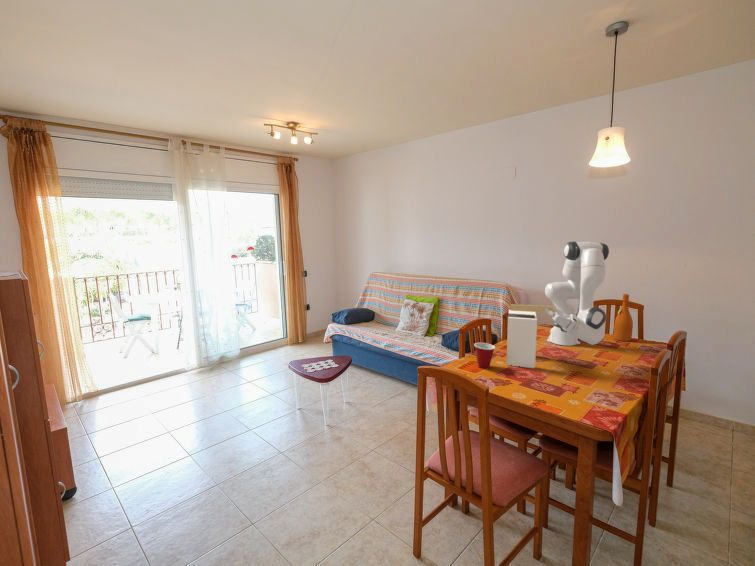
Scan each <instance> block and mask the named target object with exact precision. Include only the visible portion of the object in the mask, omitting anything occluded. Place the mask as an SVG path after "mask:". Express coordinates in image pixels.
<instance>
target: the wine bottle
mask: <svg viewBox="0 0 755 566" xmlns="http://www.w3.org/2000/svg"><path fill="white" fill-rule="evenodd" d="M629 297H630V295H629V294H628V293H623V294H622V300H621V301H622V306H621V308H619V310H618V311H617V315H616V317H615V321H614V324H613V339H614V340H616V341H619V340H620V342H630V341H632V338H633V329H634V322H633V318H632V315H631V313H630V311H629V310H630V309H629V301H630V298H629Z"/></svg>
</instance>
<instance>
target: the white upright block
mask: <svg viewBox="0 0 755 566" xmlns="http://www.w3.org/2000/svg"><path fill="white" fill-rule="evenodd" d="M510 310H511V309H508V313H507V314H508V315H507V339H506V362H505V363H506V364H505V365H506V366H510V365H512V367H519V366H520V367H521V368H528V369H536V355H537V354H536V352H537V351H536V350H537V333H538V332H537V331H538V328H537V327H538V317H537V312H528V311H510Z"/></svg>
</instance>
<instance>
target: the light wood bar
mask: <svg viewBox="0 0 755 566" xmlns="http://www.w3.org/2000/svg"><path fill="white" fill-rule="evenodd" d="M546 308H548V309H549V310H551V311H553V312H555V311H556V308H557V307H556V306H554V305H539V304H538V305H537V304H522V303H521V304H519V303H517V304H516V303H510V309H509V310H510V311H528V312H536V313H547V312H545V309H546ZM547 314H548V313H547Z"/></svg>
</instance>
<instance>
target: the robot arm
mask: <svg viewBox="0 0 755 566" xmlns="http://www.w3.org/2000/svg"><path fill="white" fill-rule="evenodd" d="M609 252H610V248H609V247H608V245H607V244H606V243H602V242H593V241H569V242H567V243H566V244H565V246H564V250H563V256H564V258H565V261H564V265H563V268H562V275H563V277H564V278H566V280H567V281H555V282H550V283H547V285H546V286H545V288H544V293H545V296H546V298H548V299H549V300H550V301H551V302H552V304H553V306H556V307H557V308H556V311H555V312H553V311H551V310H549V309H548V308H546V309H545V312H544V313H546V312H547V314H548V315H549V316H551V318H552V320H553V327H552V328H551V329H550V330H549V333H550V334H549V335H548V337H547V340H546V341H547V342H550V343H553V344H556V345H561V346H567V347H569V346H575V345H580V344H581V342H580V341H583V342H585V343H587V344H590V345H597V344H600V343H601V342H603V340H604V339H605V336H606V335H605V331H604V329H605V322H606V320H607V315H606V312H605V311H604V310H603V309H602V308H600V307H598V306H597V307H595V306H594V307H593V301H594V294H595V292H596V291H597V290H598V288H599V287H600V286H601V284H603V282H604V281H605V278H606V263H605V260H607V259H608V257H609V254H610V253H609ZM568 300H578V308H577V312H576V309H575V308H574V307H573V306H571V305H570V304H569V303H568ZM578 339H579V340H580V341H579V340H578Z"/></svg>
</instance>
